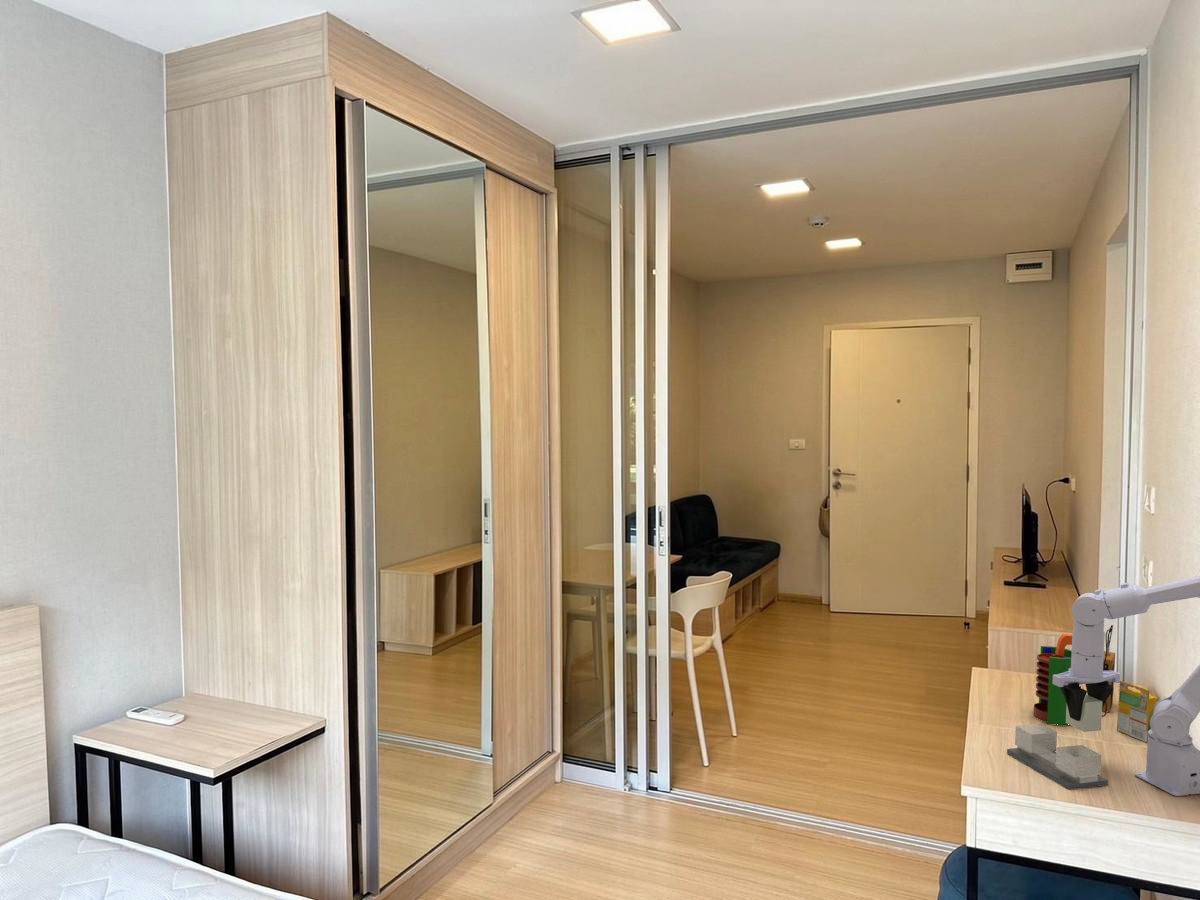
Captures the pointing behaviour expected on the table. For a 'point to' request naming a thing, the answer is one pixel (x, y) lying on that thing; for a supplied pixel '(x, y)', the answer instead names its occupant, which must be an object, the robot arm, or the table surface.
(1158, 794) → the table surface
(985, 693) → the table surface
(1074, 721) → the block
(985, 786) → the table surface
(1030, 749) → the rail board
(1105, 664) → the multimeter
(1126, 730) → the crayon box
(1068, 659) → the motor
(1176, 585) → the robot arm
